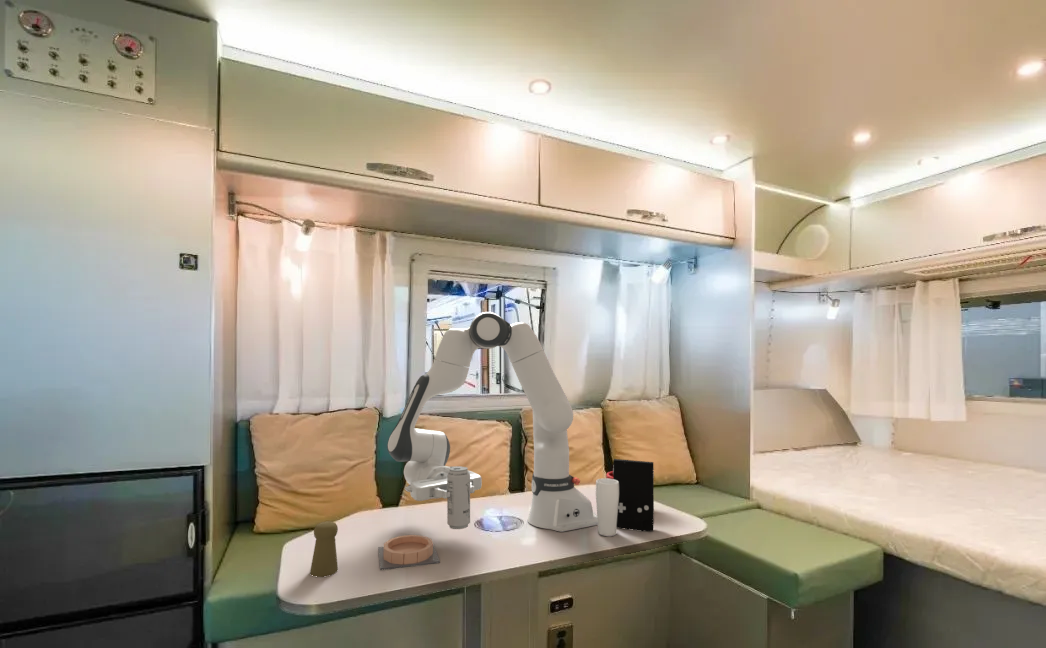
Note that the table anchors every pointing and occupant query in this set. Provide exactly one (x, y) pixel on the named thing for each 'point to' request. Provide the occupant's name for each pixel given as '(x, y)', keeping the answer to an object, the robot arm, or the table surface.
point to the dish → (407, 552)
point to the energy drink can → (458, 498)
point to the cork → (324, 550)
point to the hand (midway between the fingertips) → (460, 492)
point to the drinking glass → (607, 505)
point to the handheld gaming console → (635, 494)
